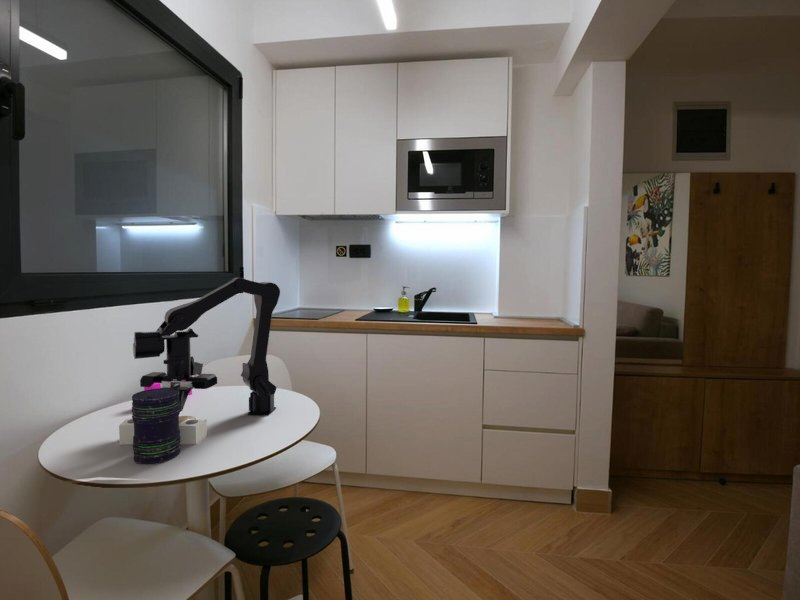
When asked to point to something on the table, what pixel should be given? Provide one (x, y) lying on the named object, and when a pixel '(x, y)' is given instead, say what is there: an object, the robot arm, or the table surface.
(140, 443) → the storage jar
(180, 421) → the beige rounded disc
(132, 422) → the marked cube
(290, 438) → the table surface
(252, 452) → the table surface
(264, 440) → the table surface
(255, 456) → the table surface
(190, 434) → the marked cube
